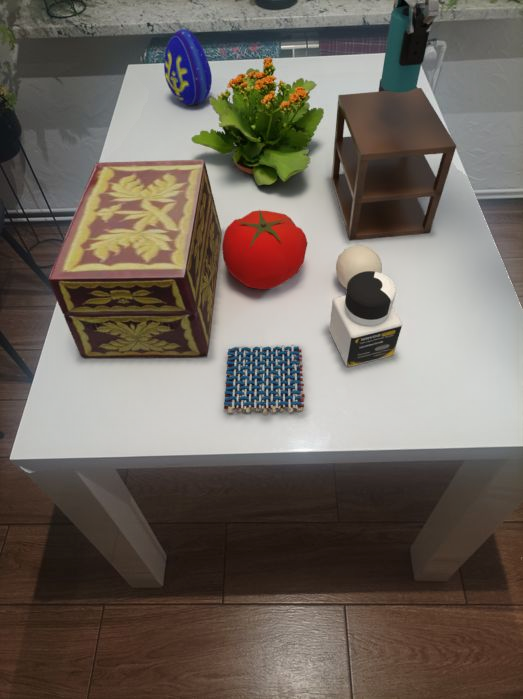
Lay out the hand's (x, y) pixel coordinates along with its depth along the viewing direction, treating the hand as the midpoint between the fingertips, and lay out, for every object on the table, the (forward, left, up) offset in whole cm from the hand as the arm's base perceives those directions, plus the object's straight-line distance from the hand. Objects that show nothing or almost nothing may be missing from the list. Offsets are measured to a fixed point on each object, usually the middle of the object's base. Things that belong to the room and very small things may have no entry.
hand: (404, 53), depth 66 cm
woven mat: (+24, +36, -25) cm, 50 cm away
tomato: (+22, +15, -26) cm, 37 cm away
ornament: (+34, -45, -26) cm, 62 cm away
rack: (0, 0, -25) cm, 25 cm away
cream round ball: (+8, +19, -26) cm, 33 cm away
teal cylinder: (0, 0, -4) cm, 4 cm away
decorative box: (+39, +16, -25) cm, 50 cm away
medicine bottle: (+10, +31, -26) cm, 41 cm away
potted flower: (+21, -18, -25) cm, 38 cm away
